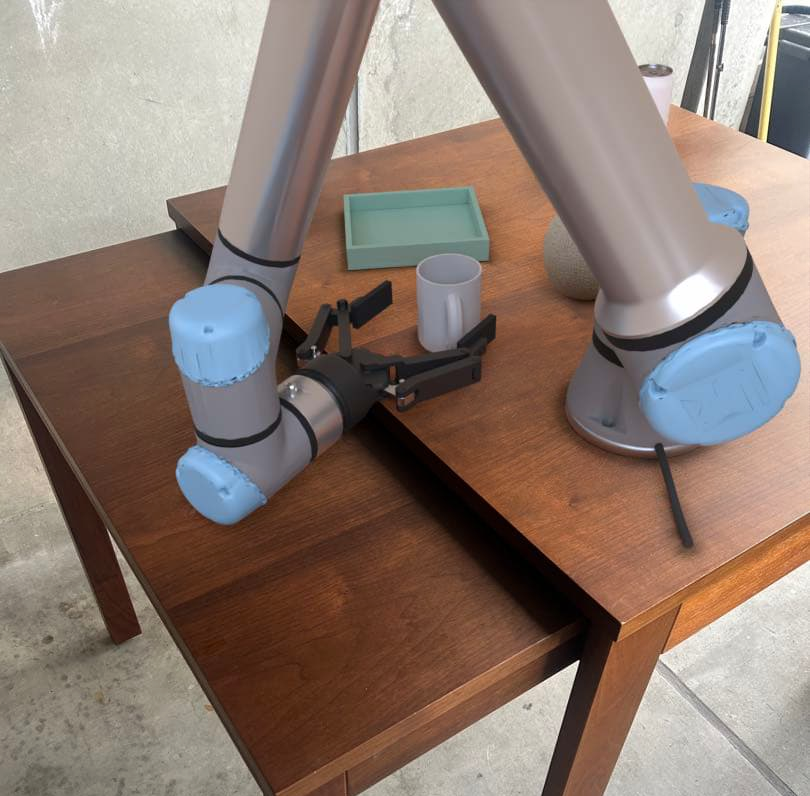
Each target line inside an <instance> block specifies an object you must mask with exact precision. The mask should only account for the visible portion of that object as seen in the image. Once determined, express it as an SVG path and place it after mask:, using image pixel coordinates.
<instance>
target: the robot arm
mask: <svg viewBox="0 0 810 796" xmlns="http://www.w3.org/2000/svg"><path fill="white" fill-rule="evenodd" d="M430 1H431V3H432V4H433V6H434V9H436V11H437V13H438V15H439V17H440V18H441V20H442V22H443V23H444V25H445V26H446V29H447V30H448V32H449V33H450V35H451V37H452V38H453V40H454V42H455V44H456V45H457V47H458V49H459V50H460V52H461V53H462V55H463V57H464V59H465V60H466V62H467V64H468V66H469V67H470V69H471V70H472V72H473V74H474V76H475V77H476V79H477V81H478V82H479V84H480V86H481V87H482V89H483V91H484V93H485V95H486V96H487V98H488V99H489V101H490V103H491V105H492V106H493V108H494V110H495V111H496V113H497V115H498V116H499V118H500V120H501V121H502V123H503V125H504V127H505V128H506V130H507V132H508V133H509V135H510V137H511V138H512V140H513V142H514V144H515V145H516V147H517V148H518V150H519V152H520V154H521V155H522V157H523V158H524V160H525V162H526V164H527V166H528V167H529V169H530V171H531V172H532V174H533V176H534V177H535V179H536V180H537V183H538V184H539V186H540V188H541V190H542V191H543V192H544V194H545V197H547V199H548V201H549V203H550V204H551V206H552V208H553V209H554V211H555V213H556V214H557V215H558V216H559V218H560V220H561V221H562V223H563V225H564V226H565V228H566V230H567V232H568V233H569V235H570V237H571V238H572V240H573V242H574V243H575V245H576V247H577V248H578V250H579V252H580V254H581V255H582V257H583V259H584V260H585V262H586V264H587V265H588V267H589V269H590V270H591V272H592V274H593V276H594V277H595V279H596V281H597V282H598V284H599V289H598V295H597V299H595V303H594V308H593V313H594V320H593V328H592V336H591V341H590V343H589V345H588V347H587V348H586V350H585V351H584V354H583V356H582V358H581V360H580V361H579V363H578V366H577V367H576V369H575V371H574V373H573V375H572V377H571V378H570V381H569V384H568V386H567V390H566V394H565V403H564V411H565V416H566V419H567V422H568V423H569V425H570V427H572V429H573V431H575V432H576V433H577V434H578V435H579V436H580V437H581V438H582V439H583V440H585V441H586V442H588V443H590V444H592V445H593V446H595V447H597V448H599V449H601V450H604V451H607V452H609V453H613V454H615V455H619V456H624V457H628V458H636V459H652V460H653V459H658V463H659V464H658V465H659V467H660V471H661V473H662V478H663V482H664V485H665V488H666V492H667V496H668V501H669V503H670V507H671V510H672V513H673V516H674V517H673V518H674V521H675V523H676V526H677V530H678V532H679V534H680V536H681V537H680V538H681V540H682V543H683V545H684V548H686V549H690V548H692V547H694V545H695V544H694V540H693V538H692V535H691V532H690V530H689V527H688V524H687V521H686V519H685V515H684V513H683V509H682V506H681V503H680V499H679V495H678V492H677V488H676V485H675V482H674V481H675V480H674V478H673V475H672V471H671V468H670V464H669V460H668V458H672V457H676V456H681V455H684V454H687V453H690V452H691V451H694V450H696V449H697V448H699V447H711V446H718V445H723V444H726V443H729V442H733V441H735V440H738V439H741V438H743V437H745V436H748V435H750V434H753V432H755V431H757V430H758V429H761V428H762V427H763V426H765V425H766V424H768V423H769V422H770V421H772V420H773V419H774V418H775V417H776V416H777V415H778V414H779V413H780V412H781V411H782V409H784V408H785V405H786V402H787V400H789V399H790V398H792V396H793V395H794V394H795V391H796V390H797V387H798V385H799V382H800V378H801V372H802V361H801V357H800V354H799V351H798V343H797V340H796V338H795V336H794V334H793V333H792V331H790V330H789V329H787V328H786V326H785V324H784V323H783V321H782V319H781V317H780V315H779V313H778V311H777V309H776V306H775V305H774V303H773V301H772V298H771V296H770V294H769V292H768V290H767V287H766V285H765V283H764V281H763V278H762V276H761V273H760V272H759V270H758V268H757V265H756V263H755V260H754V259H753V256H752V254H751V251H750V249H749V247H748V245H747V242H746V240H745V235H746V232H747V231H748V230H749V228H750V223H749V216H750V205H749V202H748V200H746V198H744V197H743V196H742V195H741V194H739V193H737V192H736V191H734V190H732V189H728V188H726V187H723V186H718V185H713V184H709V183H702V182H695V181H692V179H691V177H690V175H689V173H688V171H687V168H686V167H685V165H684V163H683V160H682V158H681V155H680V153H679V152H678V151H679V150H678V149H677V147H676V145H675V143H674V141H673V139H672V136H671V134H670V132H669V130H668V127H666V126H665V123H664V121H663V119H662V117H661V115H660V113H659V110H658V108H657V106H656V104H655V102H654V100H653V98H652V95H651V93H650V91H649V89H648V87H647V85H646V82H645V80H644V78H643V76H642V74H641V72H640V70H639V67H638V66H639V65H638V63H637V61H636V59H635V57H634V54H633V53H632V50H631V48H630V46H629V44H628V42H627V40H626V37H625V35H624V33H623V31H622V29H621V26H620V25H619V22H618V20H617V18H616V15H615V14H614V11H613V10H612V7H611V5H610V3H609V1H608V0H430ZM381 2H382V0H269V3H268V7H267V11H266V16H265V21H264V24H263V25H264V26H263V29H262V33H261V37H260V43H259V45H258V46H259V47H258V51H257V57H256V60H255V64H254V69H253V72H252V77H251V81H250V86H249V91H248V95H247V99H246V104H245V108H244V111H243V117H242V121H241V125H240V130H239V134H238V138H237V143H236V147H235V151H234V156H233V161H232V163H231V164H232V165H231V169H230V173H229V177H228V183H227V187H226V190H225V191H226V192H225V195H224V198H223V199H224V200H223V204H222V208H221V212H220V213H221V214H220V217H219V222H218V227H217V230H216V234H215V237H214V238H215V239H214V242H213V246H212V251H211V255H210V259H209V264H208V268H207V272H206V275H205V279H204V282H203V285H202V286H200V287H197V288H194V289H191V290H189V291H188V292H186V293H185V294H184V298H183V297H182V298H180V299H178V300H176V301H175V302H174V303H173V305H172V306H171V308H170V311H169V314H168V327H169V332H170V338H171V351H172V353H171V354H172V355H173V357H174V362H175V364H176V365H177V366H178V371H179V374H180V378H181V383H182V386H183V390H184V393H185V396H186V400H187V404H188V408H189V411H190V415H191V418H192V423H193V431H194V434H195V438H196V445H192V446H191V447H188V449H187V451H186V452H185V453H184V454H183V455H182V456H181V457H180V458H179V459H178V461H177V466H176V469H175V478H176V481H177V484H178V486H179V489H180V491H181V492H182V494H183V496H184V497H185V499H186V500H187V501H188V502H189V504H190V505H191V506H192V507H193V508H194V509H195V510H196V511H197V512H198V513H199V514H201V515H202V516H203V517H205V518H207V519H209V520H211V521H212V522H214V523H215V524H218V525H225V526H231V525H234V524H238V522H240V521H242V520H243V519H245V518H246V517H247V516H249V515H250V514H252V513H253V512H254V511H256V510H258V509H259V508H260V507H262V506H266V504H267V503H268V500H270V499H271V498H272V497H273V496H274V495H275V494H276V493H277V492H279V491H280V490H282V488H283V487H284V486H285V485H287V484H288V483H289V482H290V481H291V480H293V478H295V477H296V476H297V475H298V474H299V473H300V472H302V471H303V470H305V468H306V467H308V465H310V464H311V463H312V462H314V461H315V460H316V459H317V458H318V457H320V456H321V455H322V454H323V453H324V452H326V451H327V450H328V449H329V448H331V447H332V446H334V444H335V443H336V442H338V441H339V440H340V439H341V437H342V436H345V435H346V434H347V433H348V432H349V431H350V430H352V429H353V428H354V427H355V426H356V425H358V424H359V423H360V422H361V421H362V420H363V419H364V418H365V417H366V416H367V414H368V412H369V411H370V410H371V408H372V407H373V405H374V404H375V403H377V402H380V401H383V400H385V399H386V400H388V401H391V402H392V403H394V404H395V411H396V412H397V413H402V414H403V413H406V412H408V411H409V410H411V409H413V408H414V407H415V406H417V405H418V404H420V403H423V402H426V401H429V400H432V399H434V398H438V397H441V396H443V395H446V394H449V393H452V392H455V391H458V390H461V389H464V388H467V387H469V386H472V385H475V384H478V383H480V382H481V381H482V364H483V359H482V357H483V356H485V355H486V354H487V350H488V346H489V345H490V344H491V343H492V342H493V341H494V340H495V339H496V336H497V335H496V334H497V315H495V314H493V313H489V314H488V315H487V316H486V317H485V318H483V319H482V320H481V321H480V323H479V324H478V325H477V326H475V327H474V328H473V329H472V330H471V331H470V332H468V333H467V334H466V335H465V336H464V337H462V338H461V339H460V340H459V341H458V342H457V348H456V349H451V350H445V351H439V352H433V353H431V352H429V353H428V352H427V353H423V354H416V355H410V356H405V357H403V356H402V355H401V354H399V353H397V354H392V355H383V354H381V353H375V352H372V351H370V350H369V349H367V348H364V347H360V348H353V347H352V333H351V327H352V328H353V329H356V330H359V329H361V328H362V327H363V326H365V325H366V324H367V323H369V322H370V321H372V319H374V318H375V317H376V316H378V315H379V314H381V313H382V312H383V311H385V310H387V308H389V307H390V306H391V305H393V304H394V301H393V282H392V281H391V280H388V279H385V280H384V281H383V282H381V283H379V285H377V286H375V287H373V289H371V290H370V291H368V292H367V293H366V294H364V295H360V296H357V297H356V298H354V299H353V300H352V301H351V302H349V300H348V299H346V298H340V299H337V300H336V307H333V306H332V304H331V303H329V302H328V303H326V302H325V303H322V304H321V305H320V306H319V308H318V311H317V313H316V316H315V318H314V321H313V323H312V325H311V328H310V330H309V332H308V334H307V337H306V339H305V340H304V342H302V343H301V344H300V345H299V346H298V347H296V349H295V354H296V355H295V356H296V363H297V367H298V368H297V370H295V372H294V373H292V375H291V376H289V377H288V378H285V380H283V381H282V382H281V383H278V382H277V381H278V380H277V373H276V362H277V357H278V353H279V346H280V341H281V337H282V331H283V326H284V321H285V320H284V318H285V316H286V315H285V314H286V311H287V306H288V303H289V302H288V301H289V298H290V294H291V290H292V287H293V286H294V285H293V284H294V282H295V278H296V274H297V271H298V268H299V266H300V265H299V264H300V262H301V258H302V254H303V250H304V247H305V244H306V240H307V237H308V234H309V230H310V228H311V224H312V221H313V217H314V215H315V212H316V208H317V205H318V202H319V198H320V196H321V192H322V189H323V186H324V183H325V179H326V176H327V173H328V171H329V168H330V164H331V161H332V158H333V155H334V152H335V148H336V145H337V142H338V139H339V135H340V133H341V128H342V126H343V122H344V120H345V116H346V114H347V109H348V106H349V103H350V100H351V97H352V94H353V90H354V87H355V85H356V81H357V79H358V75H359V71H360V67H361V65H362V62H363V58H364V55H365V52H366V49H367V47H368V46H367V45H368V43H369V40H370V36H371V33H372V30H373V27H374V23H375V20H376V17H377V14H378V11H379V8H380V5H381ZM351 325H352V326H351ZM334 327H337V329H338V331H337V332H338V351H336V352H332V353H324V352H325V349H326V347H327V344H328V342H329V339H330V337H331V334H332V331H333V329H334ZM391 367H394V375H395V377H394V378H393V379H391Z"/></svg>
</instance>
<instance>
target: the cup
mask: <svg viewBox="0 0 810 796" xmlns="http://www.w3.org/2000/svg"><path fill="white" fill-rule="evenodd" d="M482 266H483V265H482V264H481V263H480V261H477V260H475V259H474V258H471V257H469V256H466V255H462V254H439V255H434V256H431V257H428V258H426V259H424V260H423V261H421V262H420V263H419V264H418V265H417V266H416V268H415V269H416V271H415V274H416V278H415V279H416V308H417V309H416V311H417V314H416V315H417V338H418V342H419V344H420V346H422V347H423V348H424V349H425V350H426V351H427V352H429V353H433V352H439V351H445V350H451V349H456V348H457V342H458V341H459V340H460V339H461V338H462V337H464V336H465V335H466V334H467V333H468V332H470V331H471V330H472V329H473V328H474V327H475V326H477V325H478V324H479V323H480V322H481V321H482V320H481V317H482V316H481V315H482V289H483V288H482V284H483V282H482V281H483V267H482Z"/></svg>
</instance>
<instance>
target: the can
mask: <svg viewBox="0 0 810 796" xmlns="http://www.w3.org/2000/svg"><path fill="white" fill-rule="evenodd" d="M638 67H639V70H640V72H641V74H642V76H643V78H644V80H645V82H646V85H647V87H648V89H649V91H650V93H651V95H652V98H653V100H654V102H655V104H656V106H657V108H658V110H659V113H660V115H661V117H662V119H663V121H664V123H665V126H666V128H668V127H667V126H668V120H669V116H670V115H669V114H670V110H671V104H672V98H673V91H674V85H675V84H674V83H675V80H674V76H673V73H674V69H673V68H672V67H671V66H669V65H666V64H661V63H644V64H640V65H638Z"/></svg>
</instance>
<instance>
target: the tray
mask: <svg viewBox="0 0 810 796" xmlns="http://www.w3.org/2000/svg"><path fill="white" fill-rule="evenodd" d="M342 197H343V212H344V229H345V249H346V260H347V270H348V271H357V270H371V269H372V270H374V269H387V268H400V267H402V268H403V267H414V266H415V267H417V266H418V264H419V263H420V262H421V261H423V260H424V259H426V258H428V257H431V256H434V255H439V254H462V255H466V256H469V257H471V258H474V259H475V260H477V261H478V262H487V261H490V242H491V240H490V236H489V233H488V230H487V226H486V222H485V220H484V217H483V213H482V210H481V207H480V204H479V201H478V198H477V195H476V191H475V187H474V185H470V186H453V187H440V188H439V187H438V188H424V189H423V188H422V189H407V190H393V191H391V190H390V191H378V192H364V193H361V192H360V193H349V194H347V193H346V194H343V196H342Z"/></svg>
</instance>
